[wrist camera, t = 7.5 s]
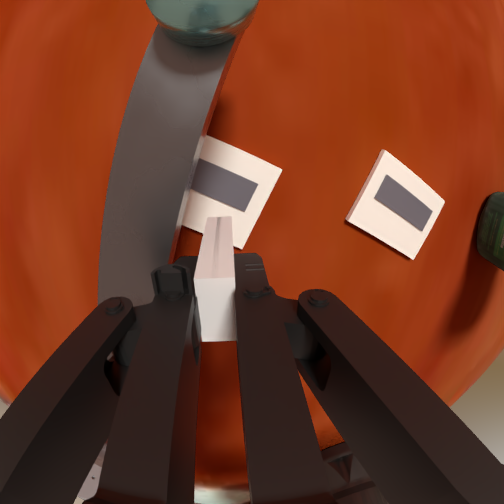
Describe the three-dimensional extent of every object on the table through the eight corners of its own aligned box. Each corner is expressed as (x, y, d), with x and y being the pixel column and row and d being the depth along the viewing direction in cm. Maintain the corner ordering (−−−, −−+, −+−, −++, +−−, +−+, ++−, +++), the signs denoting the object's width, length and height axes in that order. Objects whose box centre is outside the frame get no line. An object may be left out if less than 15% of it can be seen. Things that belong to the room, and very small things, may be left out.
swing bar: (169, 366, 18) (160, 430, 13) (103, 348, 16) (80, 407, 11) (270, 22, 10) (297, -32, 5) (175, 2, 9) (154, -55, 4)
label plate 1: (280, 168, 17) (282, 169, 17) (241, 246, 19) (242, 250, 19) (168, 120, 15) (166, 119, 15) (135, 203, 17) (132, 205, 17)
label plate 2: (441, 200, 19) (445, 202, 19) (410, 257, 21) (414, 260, 21) (381, 149, 17) (386, 150, 17) (345, 219, 19) (348, 221, 19)
